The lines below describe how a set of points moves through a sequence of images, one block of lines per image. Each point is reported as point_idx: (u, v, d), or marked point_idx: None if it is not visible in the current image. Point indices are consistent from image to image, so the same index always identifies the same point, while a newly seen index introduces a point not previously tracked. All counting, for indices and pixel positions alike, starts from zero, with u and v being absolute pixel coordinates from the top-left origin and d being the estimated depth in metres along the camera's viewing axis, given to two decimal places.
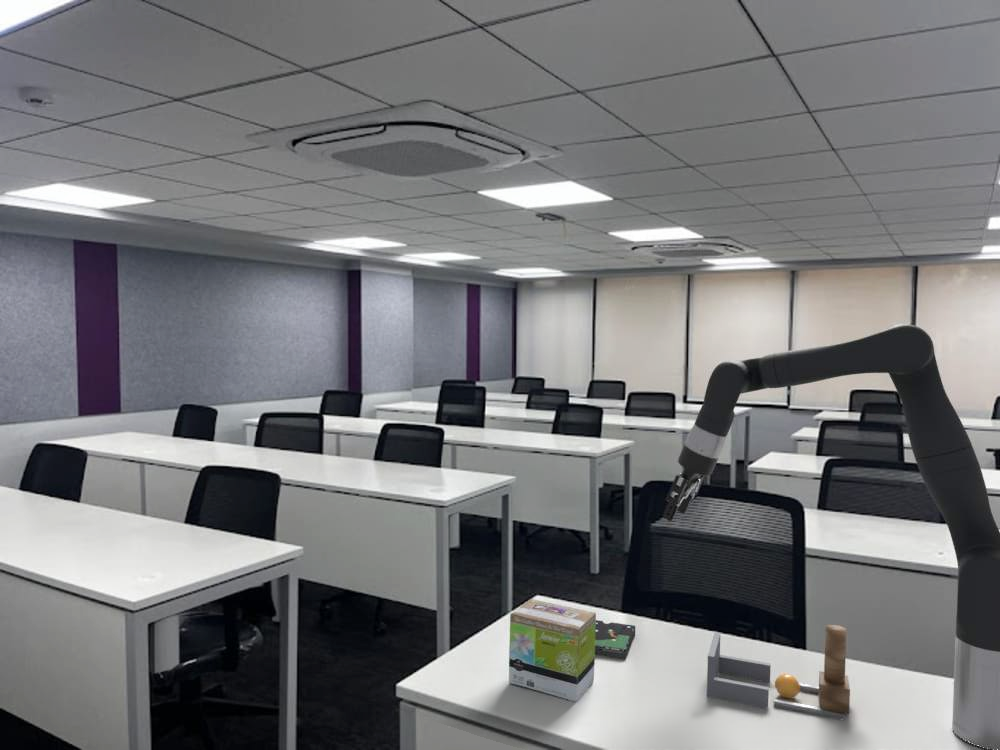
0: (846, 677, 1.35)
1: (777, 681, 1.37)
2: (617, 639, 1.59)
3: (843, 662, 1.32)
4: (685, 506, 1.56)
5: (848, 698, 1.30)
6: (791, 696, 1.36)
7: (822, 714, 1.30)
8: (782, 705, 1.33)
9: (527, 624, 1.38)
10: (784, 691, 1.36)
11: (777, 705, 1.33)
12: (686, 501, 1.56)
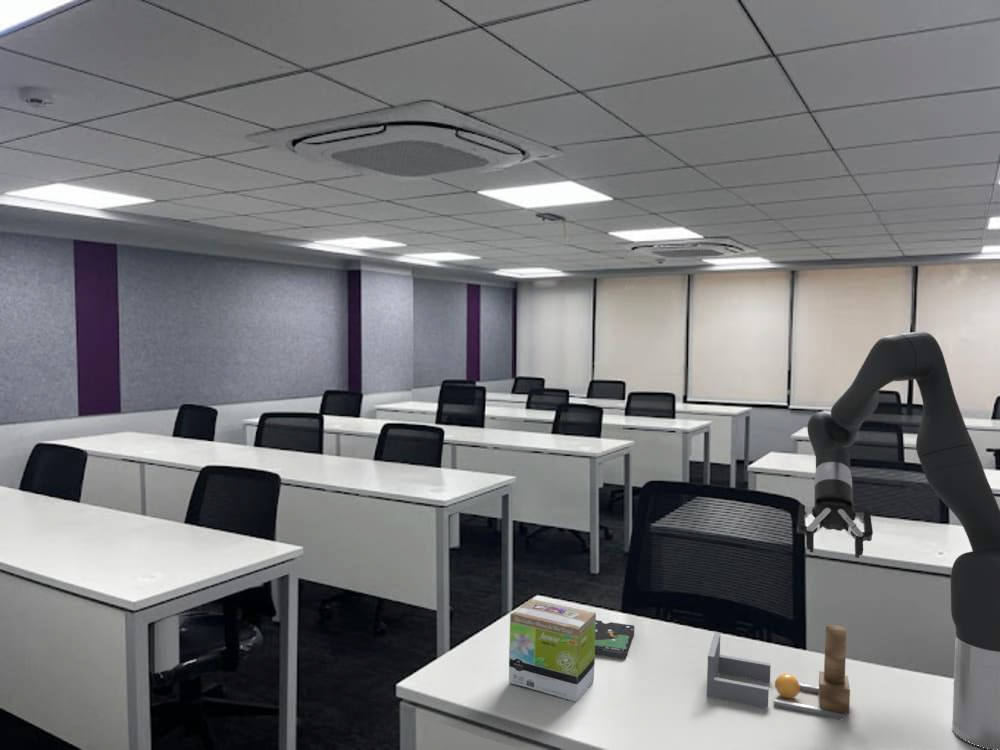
0: (846, 677, 1.35)
1: (777, 681, 1.37)
2: (617, 639, 1.59)
3: (843, 662, 1.32)
4: (855, 546, 1.43)
5: (848, 698, 1.30)
6: (791, 696, 1.36)
7: (822, 714, 1.30)
8: (782, 705, 1.33)
9: (527, 624, 1.38)
10: (784, 691, 1.36)
11: (777, 705, 1.33)
12: (855, 541, 1.44)
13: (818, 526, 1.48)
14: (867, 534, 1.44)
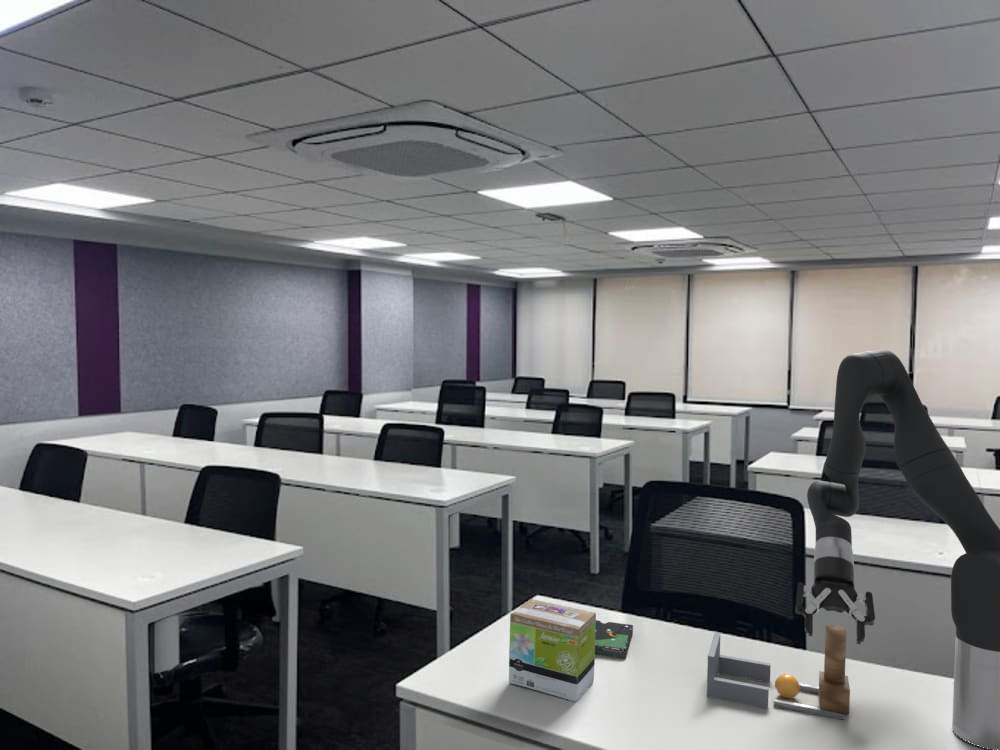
0: (846, 677, 1.35)
1: (777, 681, 1.37)
2: (616, 639, 1.59)
3: (843, 662, 1.32)
4: (856, 631, 1.36)
5: (848, 698, 1.30)
6: (791, 696, 1.36)
7: (822, 714, 1.30)
8: (782, 705, 1.33)
9: (527, 624, 1.38)
10: (784, 691, 1.36)
11: (777, 705, 1.33)
12: (856, 626, 1.37)
13: (817, 607, 1.41)
14: (869, 619, 1.37)
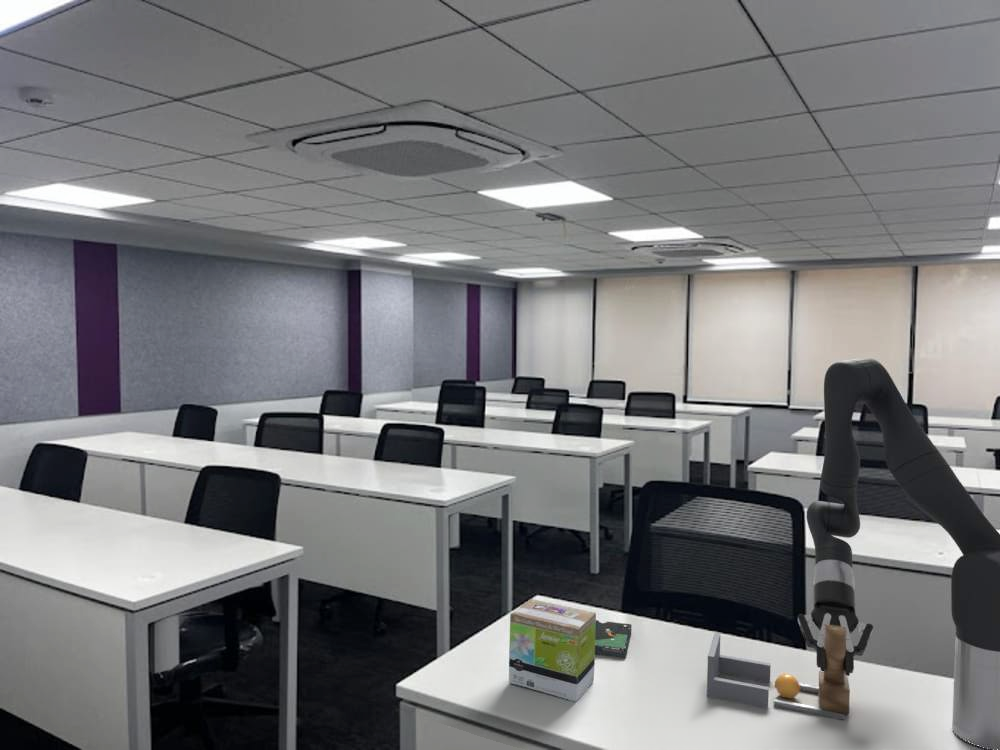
0: (846, 677, 1.35)
1: (777, 681, 1.37)
2: (616, 638, 1.59)
3: (843, 662, 1.32)
4: (845, 662, 1.32)
5: (848, 698, 1.30)
6: (791, 696, 1.36)
7: (822, 714, 1.30)
8: (782, 705, 1.33)
9: (527, 624, 1.38)
10: (784, 691, 1.36)
11: (777, 705, 1.33)
12: (845, 657, 1.33)
13: None
14: (858, 649, 1.33)
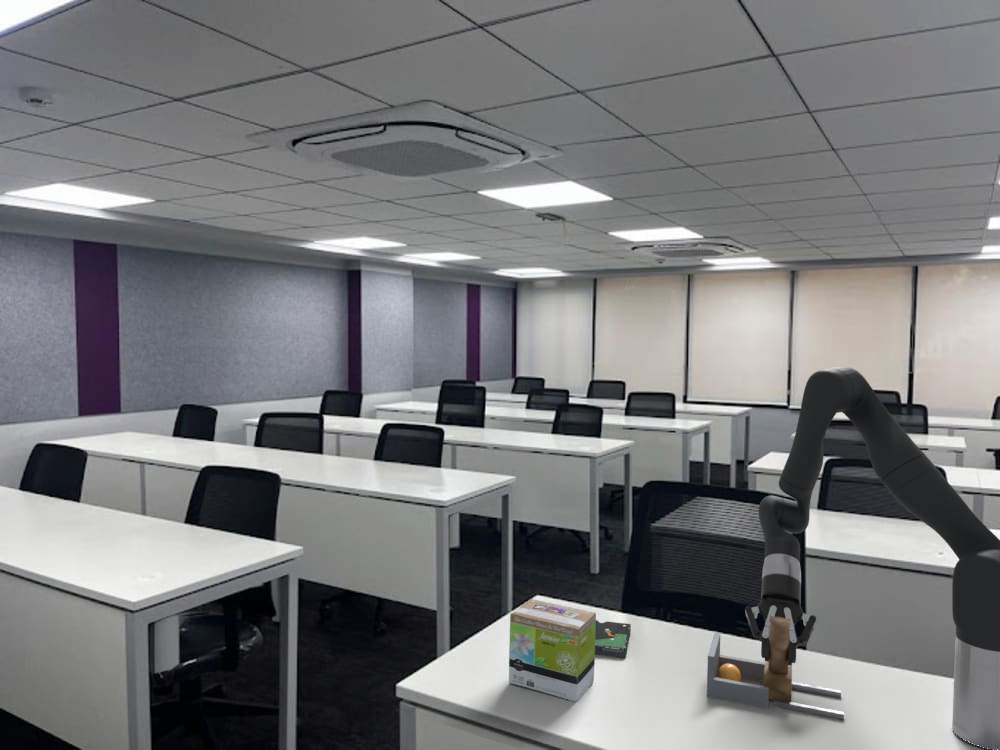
0: (790, 667, 1.39)
1: (733, 668, 1.40)
2: (615, 638, 1.59)
3: (786, 652, 1.36)
4: (788, 653, 1.36)
5: (790, 687, 1.34)
6: None
7: (822, 714, 1.30)
8: (782, 705, 1.33)
9: (527, 624, 1.38)
10: (726, 677, 1.40)
11: (777, 705, 1.33)
12: None
13: None
14: (801, 640, 1.37)
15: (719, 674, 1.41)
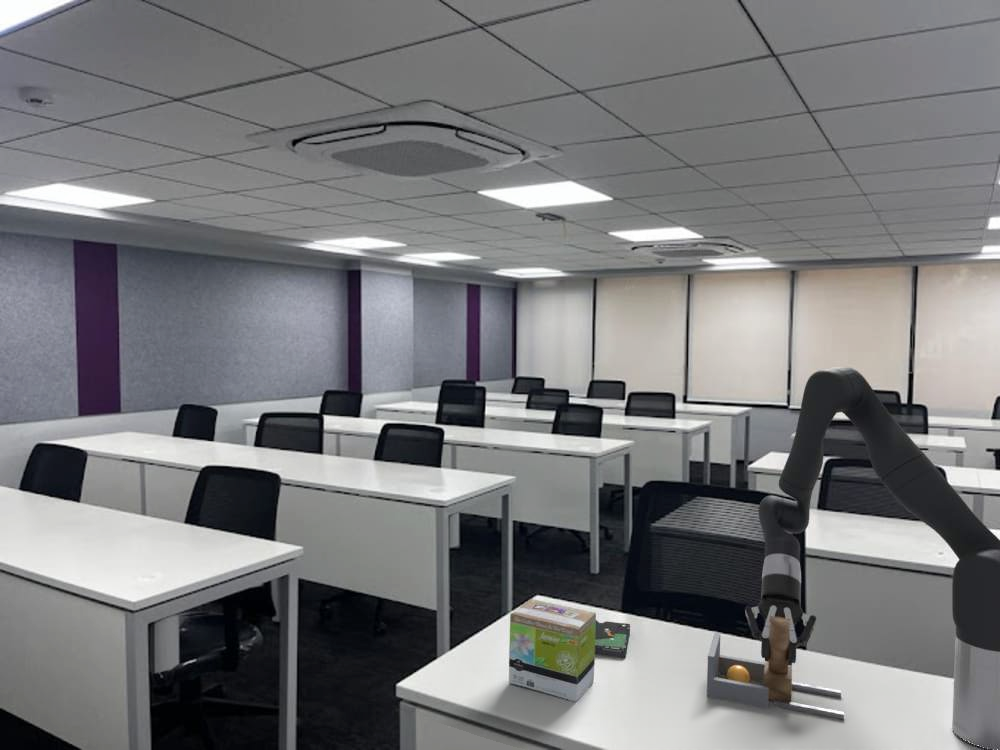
0: (790, 667, 1.39)
1: (747, 676, 1.39)
2: (615, 638, 1.59)
3: (786, 652, 1.36)
4: (788, 653, 1.36)
5: (790, 687, 1.34)
6: (730, 678, 1.40)
7: (822, 714, 1.30)
8: (782, 705, 1.33)
9: (527, 624, 1.38)
10: (738, 678, 1.39)
11: (777, 705, 1.33)
12: None
13: None
14: (801, 640, 1.37)
15: (732, 671, 1.40)
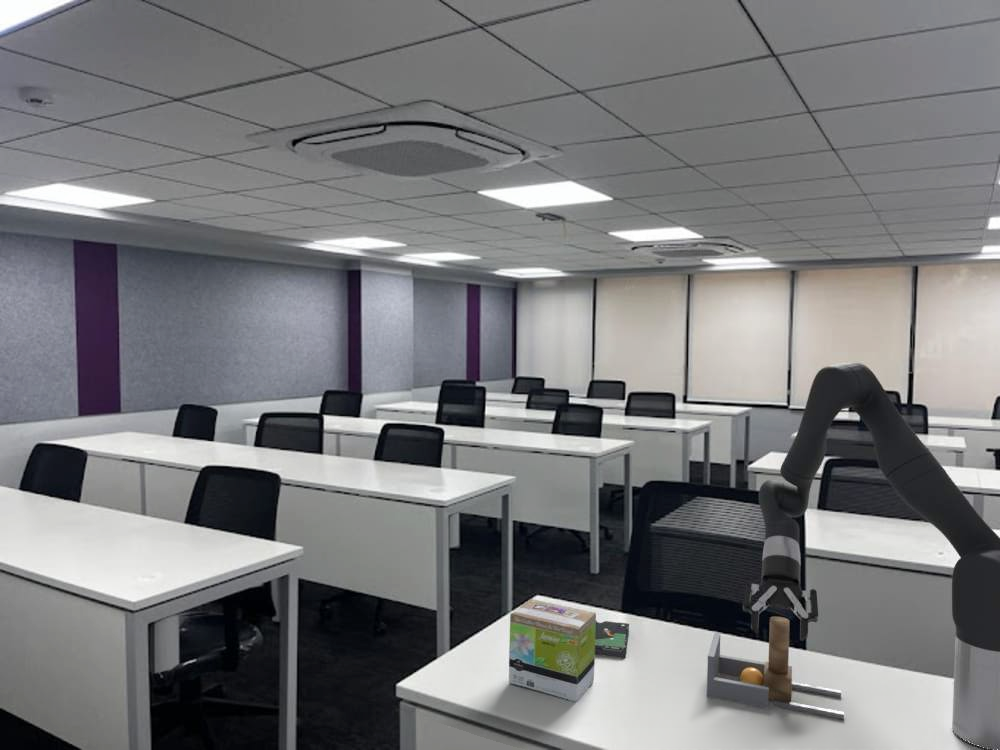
0: (790, 667, 1.39)
1: None
2: (615, 638, 1.59)
3: (786, 652, 1.36)
4: (800, 628, 1.39)
5: (790, 687, 1.34)
6: (749, 675, 1.38)
7: (822, 714, 1.30)
8: (782, 705, 1.33)
9: (527, 624, 1.38)
10: (754, 684, 1.38)
11: (777, 705, 1.33)
12: (800, 623, 1.40)
13: (764, 605, 1.44)
14: (812, 616, 1.40)
15: (757, 675, 1.38)
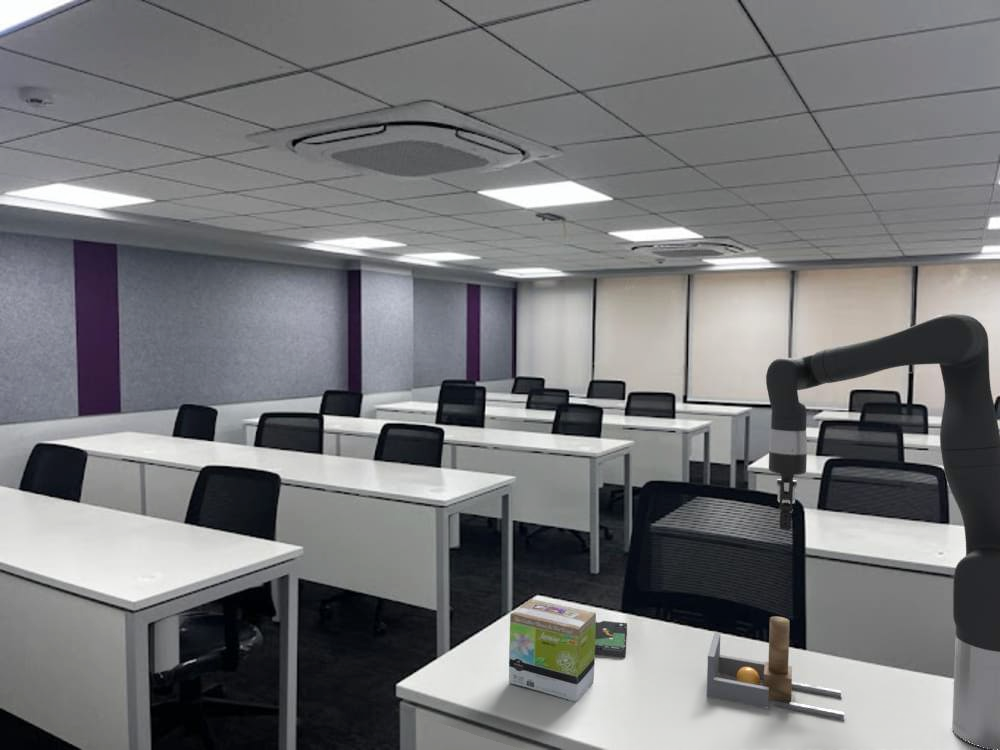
0: (790, 667, 1.39)
1: None
2: (614, 638, 1.59)
3: (786, 652, 1.36)
4: None
5: (790, 687, 1.34)
6: (743, 675, 1.39)
7: (822, 714, 1.30)
8: (782, 705, 1.33)
9: (527, 624, 1.38)
10: (750, 682, 1.38)
11: (777, 705, 1.33)
12: None
13: None
14: None
15: (750, 672, 1.39)
